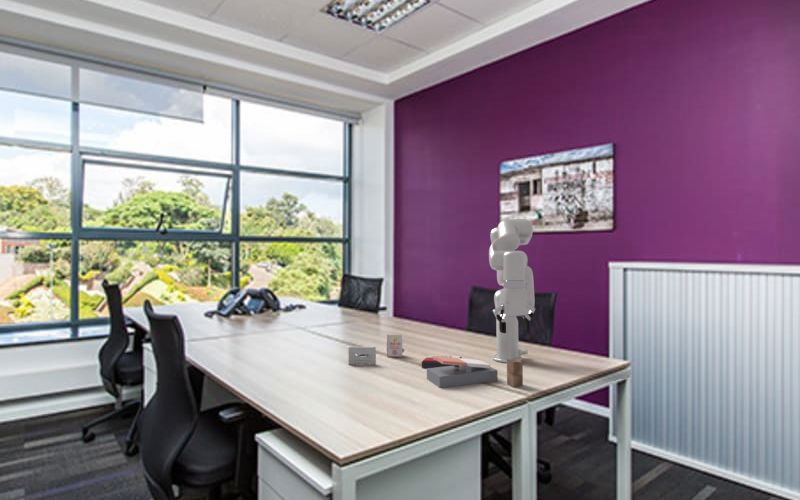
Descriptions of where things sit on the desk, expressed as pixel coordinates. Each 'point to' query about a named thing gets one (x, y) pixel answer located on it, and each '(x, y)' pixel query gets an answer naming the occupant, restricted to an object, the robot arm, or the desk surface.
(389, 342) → the white cardboard box
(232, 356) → the desk surface
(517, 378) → the peg
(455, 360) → the breaker rocker
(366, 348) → the cassette
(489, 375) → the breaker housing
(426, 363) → the calculator
